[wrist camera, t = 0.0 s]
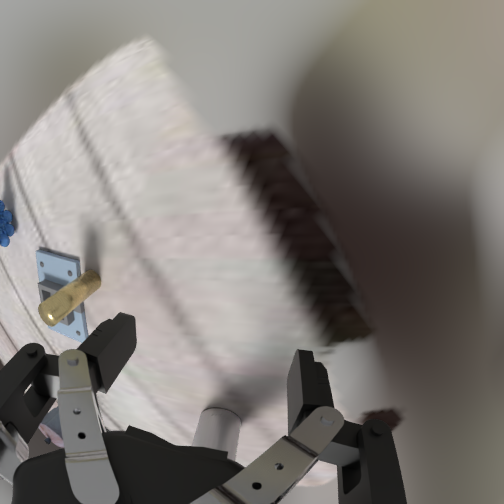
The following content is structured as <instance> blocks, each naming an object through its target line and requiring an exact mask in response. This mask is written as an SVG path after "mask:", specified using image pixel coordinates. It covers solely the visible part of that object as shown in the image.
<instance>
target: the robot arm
mask: <svg viewBox="0 0 504 504" xmlns="http://www.w3.org/2000/svg"><path fill="white" fill-rule="evenodd" d="M136 343H137V339H136V323H135V317H134V316H132V315H128V314H125V313H121V312H120V313H119V314H118V315H117V316H116V317H115V318H114V319H113V320H111V319H108V320H106V321H104V322H102V323H101V324H100V325H99V326H98V327H97V328H96V330H94V331H93V332H92V333H91V334H90V335H89V336H88V337H87V338H86V339H85V341H84V342H83V343H82V344H81V345H80V346H79V347H78V348H77V349H70V350H66V351H64V352H63V353H61V355H60V356H57V355H51V354H46V353H45V350H44V347H43V346H42V345H40V344H38V343H29V344H27V345H25V346H23V347H22V348H21V349H20V350H19V351H18V352H17V353H16V354H15V355H14V356H13V358H12V359H11V360H10V361H9V362H8V363H7V364H6V365H5V366H4V367H3V368H2V369H1V370H0V479H5V480H6V481H8V482H9V483H10V484H12V485H13V497H12V504H278V503H279V502H280V501H281V500H282V499H283V498H284V497H285V496H286V495H287V494H288V493H289V492H290V491H291V490H292V489H293V488H294V487H295V486H296V484H297V483H298V482H299V481H300V480H301V479H302V478H303V477H304V476H305V475H306V474H307V473H308V472H309V471H310V469H311V468H312V467H313V466H314V465H315V464H316V463H317V462H318V460H320V461H324V462H327V463H331V464H334V465H337V475H338V497H339V498H338V499H339V504H407V502H406V497H405V490H404V485H403V480H402V475H401V470H400V466H399V461H398V457H397V453H396V448H395V444H394V441H393V436H392V432H391V429H390V427H389V426H388V425H387V424H386V423H385V422H383V421H381V420H377V419H371V420H367V421H366V422H365V423H364V424H363V425H360V424H356V423H352V422H349V421H346V420H344V417H343V415H342V414H341V413H340V412H339V411H338V410H337V409H335V408H334V404H333V399H332V393H331V388H330V385H329V384H330V383H329V379H328V373H327V369H326V368H325V367H324V366H323V364H322V363H321V362H314V356H313V352H312V351H307V350H299V349H297V350H296V353H295V356H294V359H293V362H292V365H291V368H290V371H289V374H288V379H287V399H288V436H286V435H285V436H283V437H282V438H280V439H279V440H278V441H277V442H276V443H275V444H274V445H272V446H271V447H270V448H269V449H268V450H267V451H265V452H264V453H263V454H262V455H261V456H259V457H258V458H257V459H256V460H254V461H253V462H252V463H251V464H250V465H248V466H247V467H246V468H245V467H244V466H242V465H241V464H239V463H237V462H235V459H236V452H237V445H238V439H239V432H240V425H241V421H240V418H239V417H238V416H237V415H236V414H234V413H233V412H231V411H228V410H225V409H220V408H211V409H207V410H205V411H203V412H202V413H201V416H200V419H199V423H198V426H197V429H196V433H195V436H194V440H193V444H192V446H176V445H173V444H171V443H169V442H167V441H165V440H163V439H162V438H160V437H158V436H156V435H154V434H153V433H150V432H147V431H144V430H141V429H138V428H135V427H132V426H130V425H129V426H128V428H127V430H126V431H109V432H106V429H105V426H104V422H103V419H102V415H101V411H100V407H99V403H98V398H97V395H96V393H97V391H100V392H103V393H105V394H106V393H107V391H108V390H109V388H110V387H111V385H112V384H113V382H114V381H115V379H116V378H117V376H118V375H119V373H120V372H121V370H122V369H123V367H124V366H125V364H126V363H127V361H128V360H129V358H130V357H131V355H132V354H133V352H134V351H135V348H136ZM30 384H31V385H32V386H31V387H30V388H29V389H28V391H27V392H26V393H25V395H24V396H23V394H24V392H25V390H26V389H27V388H28V386H29V385H30ZM57 398H58V407H59V416H60V424H61V430H62V437H63V443H64V448H61V449H58V450H56V451H52V452H49V453H47V454H43V455H40V456H37V457H33V458H30V459H28V455H29V448H28V445H27V444H28V443H29V441H30V439H31V438H32V436H33V434H34V433H35V431H36V430H37V428H38V427H39V425H40V423H41V422H42V420H43V419H44V417H45V416H46V414H47V413H48V411H49V409H50V408H51V406H52V405H53V403H54V402H55V400H56V399H57Z"/></svg>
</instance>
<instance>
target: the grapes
mask: <svg viewBox="0 0 504 504" xmlns="http://www.w3.org/2000/svg"><path fill="white" fill-rule="evenodd" d="M4 209H5V205H4V203H3V202H2V201H1V200H0V245H1V246H3V247H7V246H8V245H9V243H10V239H9V237H8V236H12V235H13V234H14V227H13V225H12V224H10V222H11V221H12V217H13V216H12V214H11V212H10V211H8V210H4Z"/></svg>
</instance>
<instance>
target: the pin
mask: <svg viewBox="0 0 504 504" xmlns="http://www.w3.org/2000/svg"><path fill="white" fill-rule="evenodd" d="M100 286H101V280H100V277H99V276H98V274H97V273H96V272H95V271H93V270H88V271H86V272H85V273H83V274H82V275H80V276H79V277H77V278H76V279H74V280H73V281H71V282H70V283H69V284H67V285H66V286H64V287H63V288H61V289H60V290H59V291H57V292H56V293H54V294H53V295H52V296H50V297H49V298H48V299H46V300H45V301H43V302H42V303H41V304H40V305H39V307H38V310H39V314H40V316H41V318H42V320H43V321H44V322H45V323H46V324H47V325H48V326H51V327H54V326H55V325H56V324H57V323H58V322H60V321H61V320H62V319H63V318H64V317H65V316H67V315H68V314H69V313H70V312H71V311H72V310H74V309H75V308H76V307H77V306H78V305H79V304H81V303H82V302H83V301H84V300H85V299H87V298H88V297H89V296H90V295H91V294H93V293H94V292H95V291H96V290H98V289H99V288H100Z"/></svg>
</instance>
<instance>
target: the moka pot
mask: <svg viewBox="0 0 504 504" xmlns="http://www.w3.org/2000/svg"><path fill="white" fill-rule="evenodd" d="M39 429H40V430H41V431H42V433H43V434H44V435H45V436H46V437H47V439H45V442H46V443H47V444H50V442H51V441H52V442H53V443H54V444H56V445H57V446H59V447H62V448H64V443H63V437H62V430H61V424H60V416H59V407H57V408H54V409H53V410H51V411H50V412H49V413H47V414H46V416H45V417H44V419H43V420H42V422H41V423H40V425H39Z"/></svg>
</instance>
